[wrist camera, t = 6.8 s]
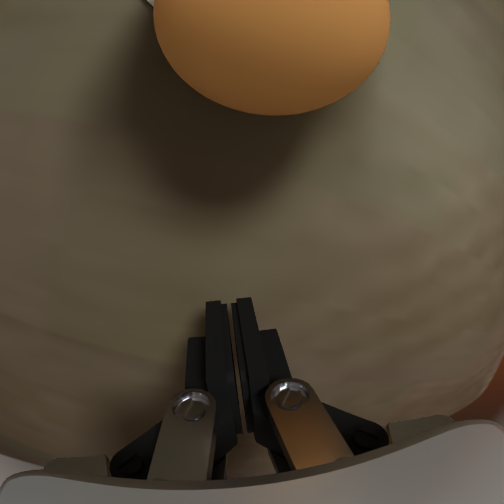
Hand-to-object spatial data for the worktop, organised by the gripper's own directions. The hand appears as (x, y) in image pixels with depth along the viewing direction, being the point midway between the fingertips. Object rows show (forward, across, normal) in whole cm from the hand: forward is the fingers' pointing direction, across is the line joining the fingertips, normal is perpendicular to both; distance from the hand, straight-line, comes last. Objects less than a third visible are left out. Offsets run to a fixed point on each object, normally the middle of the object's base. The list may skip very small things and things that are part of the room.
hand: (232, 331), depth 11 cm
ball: (-2, -2, -10) cm, 11 cm away
